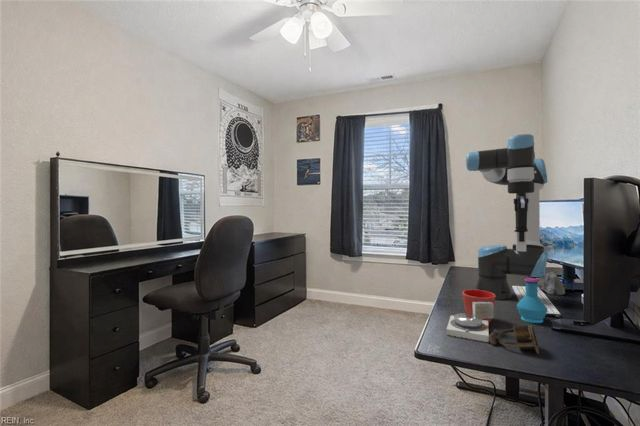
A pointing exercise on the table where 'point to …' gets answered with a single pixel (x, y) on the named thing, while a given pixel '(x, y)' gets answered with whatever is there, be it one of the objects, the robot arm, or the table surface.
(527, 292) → the perfume bottle
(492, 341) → the brown piece
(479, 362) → the table surface
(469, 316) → the dial
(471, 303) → the flower pot
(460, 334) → the dial housing
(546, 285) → the mineral rock
